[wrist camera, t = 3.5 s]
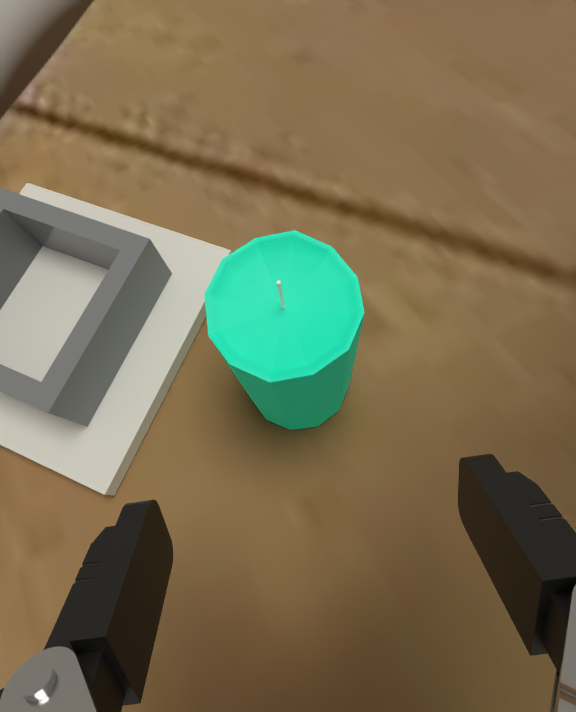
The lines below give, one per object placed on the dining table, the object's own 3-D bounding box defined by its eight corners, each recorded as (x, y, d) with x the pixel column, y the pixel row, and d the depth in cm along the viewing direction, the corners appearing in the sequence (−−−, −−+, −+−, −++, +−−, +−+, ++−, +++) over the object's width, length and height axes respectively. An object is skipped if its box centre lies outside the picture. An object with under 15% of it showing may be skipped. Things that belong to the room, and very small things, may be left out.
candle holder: (37, 194, 32) (-12, 139, 27) (234, 260, 29) (217, 212, 24) (-101, 392, 28) (-188, 369, 23) (114, 495, 25) (65, 492, 20)
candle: (257, 327, 27) (211, 200, 16) (354, 338, 27) (377, 214, 15) (239, 422, 25) (172, 355, 14) (342, 437, 25) (359, 379, 13)
